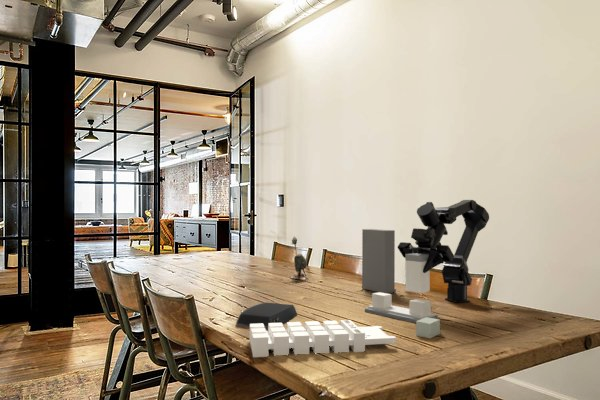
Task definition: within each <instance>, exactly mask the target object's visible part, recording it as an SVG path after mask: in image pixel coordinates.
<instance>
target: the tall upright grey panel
mask: <svg viewBox="0 0 600 400" xmlns="http://www.w3.org/2000/svg"><path fill="white" fill-rule="evenodd" d="M361 233H362V234H361V235H362V237H361V239H362V241H361V242H362V243H361V245H362V248H361V249H362V252H361V254H362V256H361V259H362V261H361V262H362V264H361V266H362V267H361V269H362V270H361V274H362V277H361V278H362V279H361V283H362V284H361V289H362V290H368V291H372V292H376V293H378V292H381V293H387V294H393V292H394V293H397V289H396V288H395V268H396V267H395V265H396V264H395V261H396V260H395V257H396V255H395V250H396V249H395V246H396V245H395V244H396V243H395V241H396V240H395V239H396V237H395V235H396V233H395V230H393V229H378V228H377V229H375V228H363V229H362V231H361Z"/></svg>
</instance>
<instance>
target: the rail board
mask: <svg viewBox="0 0 600 400" xmlns="http://www.w3.org/2000/svg"><path fill="white" fill-rule="evenodd" d="M392 294H393V293H381V292H373V293H371V305H367V307H366V308H364V312H365V313H370V314H373V315H374V314H375V315H378V316H383V317H388V318H392V319H397V320H400V321H405V322H410V323H415V324H416V321H418V320H421V319H423V318H426V317H428V318H434V319H439V318H438V317H439V315H438V314H436V313H432V301H431V300H426V299H419V298H415V299H411V300H409V307H408V308H407V307H403V306H398V305H393V304H392V296H393V295H392Z"/></svg>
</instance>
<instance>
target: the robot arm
mask: <svg viewBox="0 0 600 400" xmlns="http://www.w3.org/2000/svg"><path fill="white" fill-rule="evenodd" d="M486 209H487V208H485V207H483V206H482V205H480V204H479V203H477V201H476V200H473V199H463V200H460V201H458V202H457V203H454V204H452V205H449V206H444V207H435V205H434V203H433V202H432V201H427V202H425V204H422V205H420V206H419V207H417V210H416V214H417V216H418V218H419V219H420V221H421V224H422V225H424V226H425V227H427V228H418V227H417V228H416V227H415V228H412V232H411V235H410V238H411V239H413V240H414V241H415V242H414V243H415V245H416V246H414V245H412V242H404V241H402V242H399V243H398V246H397V249H398V251H399V252H400V253H401V256H402V257H403V258H404V259H405V254H412V253H417V254H428V255H429V258H428V260H427V262H426V264H425V266H424V269H423V273H426V272H427V271H429V270H430V271H431V270H432V269H434V268H435V267H437V266H439V265H440V264H443V265H442V266H443V267H442V270H441V274H442V279H443V280H442V281H443V283H444V284H447V289H446V290H447V291H446V292H447V294H446V295H447V296H446V297H445V298H444V300H446V301H449V302H453V303H458V304H459V303H466V302H471V299H468V286H469V287H470V286H472V281H473V278H472V277H471V275H470V273H469V266H468V259H469V257H470V254H471V251H472V249H473V246H474V244H475V241H476V239H477V236H478V233H479V232H480V231H481V230H483V229H485V227H486V226H487V223H488V222H489V221H490V215H489V214H490V213H489V212H488V211H487V210H486ZM459 216H462V217H463V222H464V225H465V227H464V230H463V232H462V235H461V237H460V239H459V242H458V244H457V247H456V249H455V252H454V253H453V251H452V249H451V248H450V246H449V245H447V244H445V245H444V244H442V243H441V240H442V239H443V236H447V235H448V229H447V226H446V225H451V224H453V223H455V222H456V221H457V218H458V217H459Z"/></svg>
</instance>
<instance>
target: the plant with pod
mask: <svg viewBox="0 0 600 400" xmlns="http://www.w3.org/2000/svg"><path fill="white" fill-rule="evenodd" d="M297 242H298V238H297V237H296V236H293V238H292V239H291V245H292V246H293V245H294V248H295V250H294V251H297ZM307 265H308V263H307V259H306V258H305V256H304V255H303V254H302V253H298V254H297V252H295V255H294V270H295V273H293V275H291V276H289V277H290V278H291V279H293V280H294V279H295V280H304V279H305V280H308V279H309V277H307V274H306V271H305V269H307Z"/></svg>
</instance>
